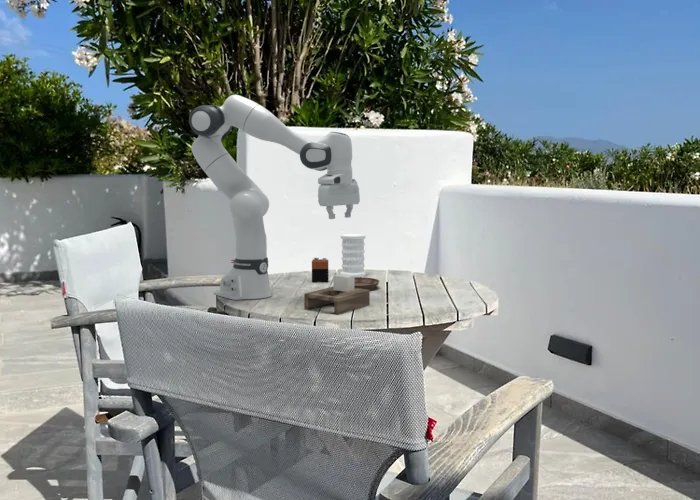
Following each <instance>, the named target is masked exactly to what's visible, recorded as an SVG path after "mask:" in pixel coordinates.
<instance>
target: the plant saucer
mask: <svg viewBox="0 0 700 500" xmlns="http://www.w3.org/2000/svg"><path fill="white" fill-rule="evenodd" d="M379 283H380V280H379V279H377V278H373V277H354V288H359V289H367V290H370V291H371V290H374V289H376V288H377V286H379Z"/></svg>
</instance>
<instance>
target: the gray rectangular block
mask: <svg viewBox="0 0 700 500" xmlns="http://www.w3.org/2000/svg"><path fill="white" fill-rule="evenodd" d="M354 278H355V277H354V276H353V275H344V274H340V273H339V274H336V275H333V276H332V281H333V285H332V287H333V290H337V291H342V292H349V291H353V290H354Z"/></svg>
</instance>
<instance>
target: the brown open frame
mask: <svg viewBox="0 0 700 500" xmlns="http://www.w3.org/2000/svg"><path fill="white" fill-rule="evenodd" d="M370 291H371V290H367V289H359V288H354V290H353V291H349V292H342V291H337V290H333V286H330V287H326V288H322V289H317V290H313V291H309V292H305V293H304V295H303V296H304V299H303V302H304V307H303V308H304V310H311V309H310V308H312V309H315V308H319V307H322V306H325V305H330V304H333V303H334V306H333V307H334V308H333V309H334V313H333V314H335V315H341V314H344V313H347V312H350V311H354V310H357V309H361V308H364V307H367V306H370V299H371V298H370ZM318 306H319V307H318ZM314 307H315V308H314Z"/></svg>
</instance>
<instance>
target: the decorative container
mask: <svg viewBox="0 0 700 500" xmlns="http://www.w3.org/2000/svg"><path fill="white" fill-rule="evenodd" d="M340 239H342V242H341V246H342V249H341V254H342V256H341V262H342V263H341V269H342V271H340V273H339V274H344V275H353V276H354V278H355V277H362V278H365V277H366V276H367V271H365V270H364V268H365V263H364V262H365V239H366V234H364V233H363V234H361V233H360V234H359V233H345V234H341V235H340Z"/></svg>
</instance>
